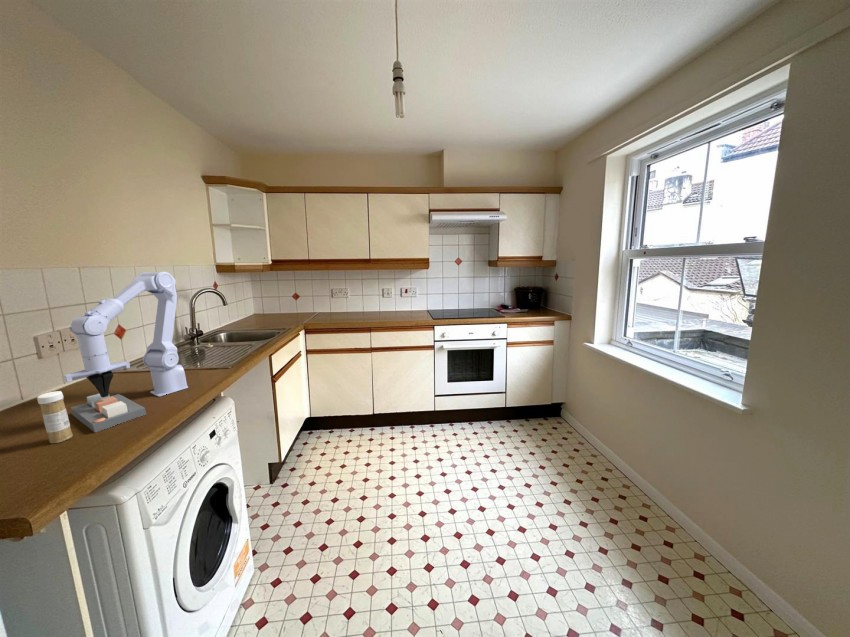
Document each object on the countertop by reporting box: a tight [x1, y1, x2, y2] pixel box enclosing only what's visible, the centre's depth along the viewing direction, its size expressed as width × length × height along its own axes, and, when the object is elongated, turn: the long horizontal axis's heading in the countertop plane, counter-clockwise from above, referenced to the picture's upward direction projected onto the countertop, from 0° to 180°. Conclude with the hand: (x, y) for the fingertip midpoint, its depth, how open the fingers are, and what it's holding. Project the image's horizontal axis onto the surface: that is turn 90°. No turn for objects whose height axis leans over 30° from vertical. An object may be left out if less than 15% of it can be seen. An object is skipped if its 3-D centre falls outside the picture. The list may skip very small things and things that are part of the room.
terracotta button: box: [94, 395, 118, 413], centre depth 105 cm, size 4×4×3 cm
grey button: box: [86, 392, 111, 408], centre depth 109 cm, size 4×4×3 cm
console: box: [70, 393, 147, 433], centre depth 106 cm, size 12×23×3 cm, turn 58°
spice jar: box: [36, 390, 74, 444], centre depth 91 cm, size 5×5×14 cm
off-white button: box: [102, 401, 128, 418], centre depth 101 cm, size 4×4×3 cm
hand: (104, 396), depth 105 cm, fingers closed
